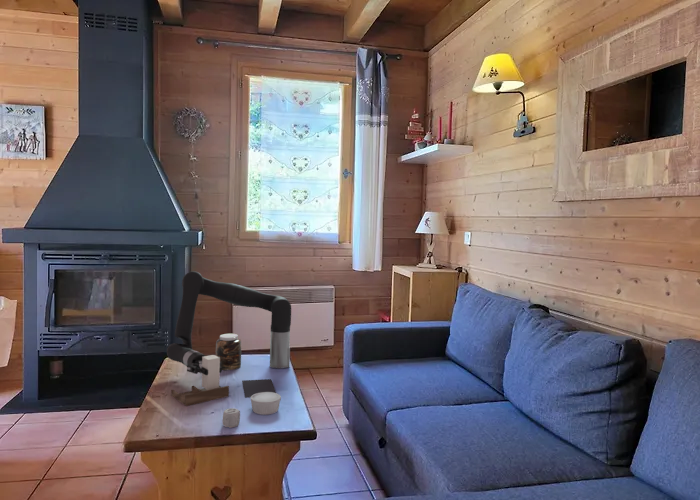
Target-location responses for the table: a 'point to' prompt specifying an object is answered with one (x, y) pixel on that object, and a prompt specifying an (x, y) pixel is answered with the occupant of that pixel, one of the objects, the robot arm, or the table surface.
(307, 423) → the table surface
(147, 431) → the table surface
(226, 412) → the die
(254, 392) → the notebook
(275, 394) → the ramekin
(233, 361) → the jar
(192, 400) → the lane rack
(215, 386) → the cream block
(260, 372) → the table surface
